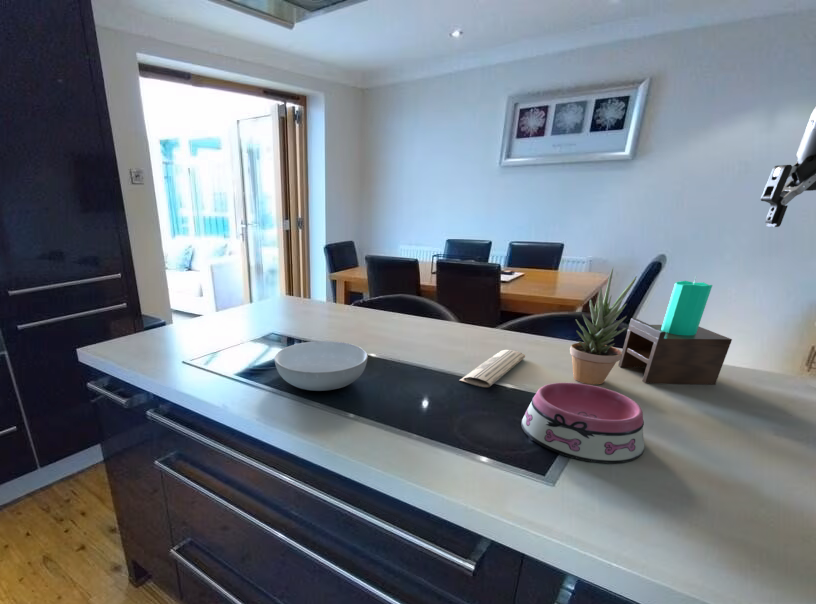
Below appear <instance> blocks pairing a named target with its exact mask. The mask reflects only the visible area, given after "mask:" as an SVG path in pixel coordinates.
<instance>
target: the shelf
mask: <svg viewBox="0 0 816 604" xmlns="http://www.w3.org/2000/svg"><path fill="white" fill-rule="evenodd" d="M662 325H663V324H649V323H647V322H644V321H643V320H641V319H638V318H635V317H634V318H631V317H630V322H629V324H628V327H627V332H626V335H625V339H624V343H623V346H622V350H621V352H622V355H621V358H620V360H619V361H618V367H619V368H643V369H645V370H644V374H643V377H642V382H643V383H644V384H661V385H663V384H664V385H665V384H668V385H714V386H715V385H716V384H717V381H718V378H719V376H720V373H721V370H722V368H723V366H724V362H725V360H726V357H727V354H728V352H729V349H730V347H731V344H732V341H733V339H732V338H730V337H728V336H725V335H723V334H719V333H717V332H714V331H712V330H709V329H708V328H707V329H706V328H704V327H701V326H699V327H698V330H697V333H696V334H695V335H676V334H671V333H667V332H665V331H663V330H661V328H662Z"/></svg>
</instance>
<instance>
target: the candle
mask: <svg viewBox="0 0 816 604" xmlns="http://www.w3.org/2000/svg"><path fill="white" fill-rule="evenodd" d="M696 278H697V275H695V276H694V279H693V281H689V280H680V281H679V280H678V281H676V282H675V283H674V286H673V289H672V292H671V296H670V298H669V302H668V305H667V308H666V313H665V316H664V318H663V322H662V324H661V325H662V328H661V330H663V331H665V332H667V333H671V334H676V335H695V334H696V333H697V330H698V327H700V324H701V322H702V321H701V320H702V318H703V315H704V311H705V309H706V307H707V306H706V305H707V302H708V300H709V296H710V294H711V291H712V288H713V284H708V283H707V282H706V283H705V282H702V281H701V282H695V281H696Z"/></svg>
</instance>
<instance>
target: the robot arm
mask: <svg viewBox="0 0 816 604" xmlns="http://www.w3.org/2000/svg"><path fill="white" fill-rule="evenodd" d="M795 158H796V161H795V163H794V164H793V165H791V164H781V165H774V166H773V167H772V170H771V172H770V174H769V177H768V178H767V182H766V184H765V185H764V189H763V191H762V193H761V196H760V202H766V203H768V204H769V209H768V212H767V215H766V218H765V224H766V225H765V226H766V227H768V228H779V227H780V226H781V225H782V222H783V220H784V216H785V214H786V211H787V209H788V206H789V205H787V204H789V203H790V202H791V201H792V200H793V199H794V198H796V197H797V196H799V195H801V194H803V193H804V192H807V191H808V192H809V191H810V192H811V191H816V105H815V106H814V108H813V109H812V111H811V114H810V116H809V119H808V121H807V124H806V126H805V130H804V132H803V135H802V138H801V140H800V143H799V146H798V148H797V152H796V154H795ZM789 177H791V179H790V180H789V181H788V179H789ZM787 181H788V182H787Z"/></svg>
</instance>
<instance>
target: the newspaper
mask: <svg viewBox="0 0 816 604" xmlns="http://www.w3.org/2000/svg"><path fill="white" fill-rule="evenodd" d="M525 358H526V354H524V353H523V352H520V351H517V350H513V349H503V350H500V351H498V352H496V353H495V354H494V355H492V356H490V357H489V358H488V359H487V360H485V361H484V362H482V363H481V364H479V365H478V366H477V367H475V368H474V369H473V370H471V371H470V372H468V373H467V374H465V375H464V376H463V377H462V378H460V379H459V380H458V381H461V382H464V383H466V384H470V385H473V386H477V387H481V388H490V387H491V386H493V385H494V384H495V383H496V382H497V381H498V380H500V379H501V378H502V377H503V376H505V375H506V374H507V373H508V372H509V371H511V370H512V369H513V368H514V367H515V366H517V365H518V364H519V363H520V362H522V361H523V360H524V359H525Z"/></svg>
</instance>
